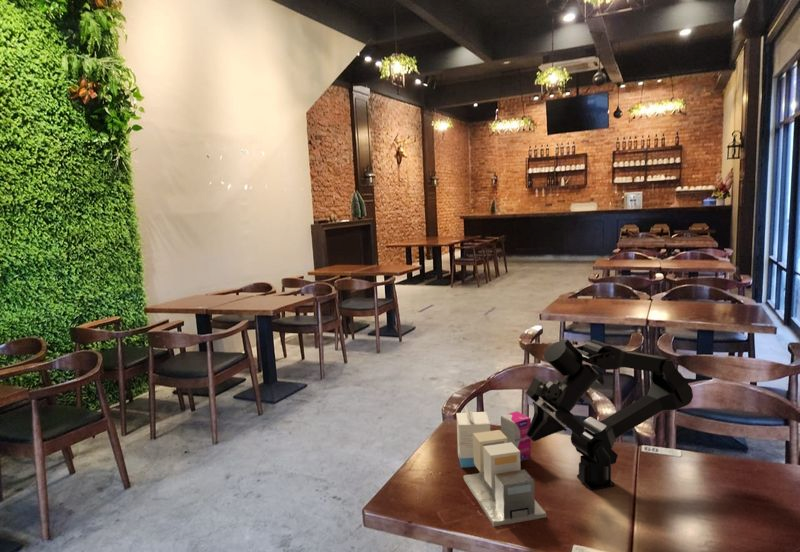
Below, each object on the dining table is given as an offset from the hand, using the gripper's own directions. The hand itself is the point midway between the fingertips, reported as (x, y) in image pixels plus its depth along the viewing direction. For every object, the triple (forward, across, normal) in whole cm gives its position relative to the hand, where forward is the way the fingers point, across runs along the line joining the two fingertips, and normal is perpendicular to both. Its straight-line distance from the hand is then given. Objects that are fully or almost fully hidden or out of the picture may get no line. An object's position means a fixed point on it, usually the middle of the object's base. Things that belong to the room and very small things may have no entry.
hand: (530, 438), depth 120 cm
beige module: (+12, -7, +2) cm, 14 cm away
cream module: (+12, 0, +2) cm, 12 cm away
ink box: (+15, -19, +5) cm, 25 cm away
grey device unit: (+15, 0, +5) cm, 15 cm away
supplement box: (+7, -17, +13) cm, 23 cm away
